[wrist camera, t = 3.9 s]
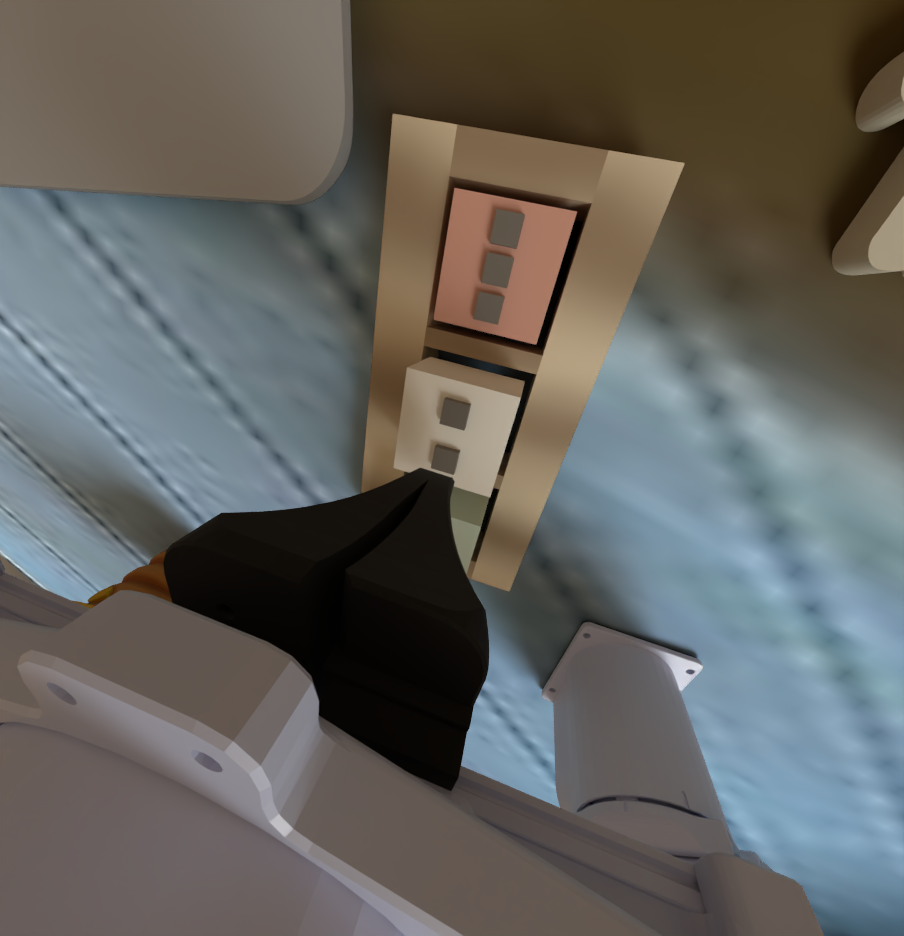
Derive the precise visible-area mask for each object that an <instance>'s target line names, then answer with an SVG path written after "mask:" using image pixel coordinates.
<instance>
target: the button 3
mask: <svg viewBox="0 0 904 936" xmlns="http://www.w3.org/2000/svg"><path fill="white" fill-rule="evenodd" d="M576 214H577V211H571V210H566V209H561V208H556V207H551V206H546V205H541V204H535V203H530V202H525V201H520V200H515V199H510V198H505V197H499V196H494V195H489V194H484V193H479V192H474V191H469V190H463V189H458V188H454V194H453V200H452V207H451V213H450V219H449V225H448V232H447V238H446V244H445V250H444V256H443V263H442V269H441V275H440V281H439V288H438V294H437V300H436V306H435V312H434V319H433V320H437V321H441V322H445V323H450V324H454V325H458V326H462V327H466V328H470V329H474V330H478V331H482V332H486V333H490V334H494V335H498V336H502V337H506V338H511V339H515V340H519V341H523V342H527V343H531V344H535V345H536V344H537V341H538V338H539V334H540V331H541V328H542V325H543V321H544V318H545V315H546V312H547V308H548V305H549V302H550V299H551V295H552V292H553V289H554V286H555V282H556V279H557V276H558V273H559V269H560V266H561V263H562V260H563V256H564V253H565V250H566V247H567V243H568V240H569V237H570V234H571V230H572V227H573V224H574V221H575V217H576Z"/></svg>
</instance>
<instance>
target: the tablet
mask: <svg viewBox="0 0 904 936" xmlns="http://www.w3.org/2000/svg"><path fill="white" fill-rule="evenodd" d="M352 138H353V84H352V50H351V17H350V0H0V187H13V188H29V189H45V190H61V191H77V192H93V193H110V194H126V195H142V196H158V197H174V198H190V199H206V200H222V201H238V202H254V203H270V204H286V205H300V204H305V203H308V202H311V201H313V200H315V199H317V198H319V197H320V196H322V195H323V194H324V193H325V192H326V191H327V190H329V188H330V187H331V186H332V185H333V184H334V183H335V181H336V180H337V179H338V178H339V177H340V175H341V173H342V172H343V170H344V168H345V166H346V163H347V161H348V158H349V154H350V150H351V145H352Z"/></svg>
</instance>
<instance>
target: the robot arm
mask: <svg viewBox="0 0 904 936" xmlns="http://www.w3.org/2000/svg"><path fill="white" fill-rule="evenodd" d="M454 483H455V481H454V479H453V478H452V477H449V476H445V475H442V474H439V473H436V472H433V471H430V470H426V469H423V468H418V469H416V470H414V471H412V472H410V473H408V474H406V475H404V476H402V477H400V478H398V479H395V480H393V481H391V482H389V483H387V484H384V485H382V486H379V487H377V488H374V489H372V490H369V491H366V492H364V493H361V494H358V495H355V496H352V497H348V498H345V499H341V500H337V501H333V502H328V503H323V504H318V505H313V506H308V507H302V508H294V509H286V510H276V511H264V512H239V513H221V514H219V515H217V516H216V517H214V518H213V519H211V520H209V521H208V522H206V523H205V524H203V525H202V526H200V527H198V528H197V529H195V530H194V531H192V532H191V533H189V534H187V535H186V536H184V537H183V538H181V539H179V540H178V541H176V542H175V543H173V544H172V545H171V546H170V547H169V548H168V549H167V550H166V553H165V557H164V561H163V566H164V574H165V578H166V582H167V585H168V589H169V592H170V596H171V600H172V603H171V602H169V601H166V600H164V599H161V598H159V597H156V596H154V595H151V594H146V593H141V592H136V591H132V590H120V591H118V592H116V593H115V594H113V595H112V596H110V597H108V598H107V599H105V600H104V601H102V602H101V603H99V604H98V605H96V606H95V607H93V608H92V609H90V608H87V607H85V606H83V605H80V604H78V603H76V602H73V601H71V600H68V599H66V598H64V597H61V596H59V595H57V594H54V593H52V592H50V591H47V590H45V589H42V588H40V587H38V586H35V585H33V584H31V583H28V582H26V581H24V580H21V579H19V578H17V577H14V576H12V575H9V574H7V573H5V568H4V566H3V564H2V562H1V560H0V936H824V934H823V932H822V930H821V928H820V926H819V923H818V921H817V919H816V917H815V914H814V912H813V910H812V908H811V905H810V903H809V901H808V899H807V896H806V894H805V892H804V890H803V888H802V886H801V885H800V884H799V883H797V882H796V881H795V880H793V879H791V878H788V877H786V876H784V875H781V874H779V873H776V872H774V871H773V870H772V869H771V868H770V867H769V866H768V865H766V864H765V863H764V862H762V861H761V859H760V858H759V856H758V855H757V854H756V853H755V852H752V851H744V850H740V851H739V849H738V847H737V845H736V844H735V842H734V840H733V838H732V836H731V833H730V831H729V828H728V825H727V822H726V819H725V816H724V814H723V811H722V808H721V805H720V802H719V800H718V797H717V794H716V791H715V788H714V786H713V783H712V780H711V777H710V774H709V771H708V769H707V766H706V763H705V760H704V757H703V755H702V752H701V749H700V746H699V743H698V741H697V738H696V735H695V732H694V729H693V726H692V724H691V721H690V718H689V715H688V712H687V710H686V707H685V704H684V701H683V698H682V696H681V693H680V692H681V691H682V690H683V689H684V688H685V687H686V686H687V685H688V684H689V683H690V682H691V680H692V679H693V678H694V677H695V676H696V675H697V674H698V673H699V672H700V671H701V670H702V669H703V666H702V663H701V661H700V660H699V659H697V658H694V657H691V656H688V655H685V654H682V653H679V652H676V651H673V650H670V649H667V648H664V647H662V646H659V645H656V644H653V643H650V642H647V641H644V640H641V639H638V638H635V637H632V636H629V635H626V634H623V633H620V632H618V631H615V630H612V629H609V628H606V627H603V626H600V625H597V624H594V623H591V622H585V623H583V624H582V625H581V627H580V628H579V630H578V632H577V633H576V635H575V637H574V638H573V640H572V642H571V643H570V645H569V647H568V648H567V650H566V652H565V653H564V655H563V657H562V658H561V660H560V662H559V663H558V665H557V667H556V668H555V670H554V672H553V673H552V675H551V677H550V678H549V680H548V682H547V683H546V685H545V687H544V688H543V690H542V697H543V698H544V699H545V700H548V701H550V702H553V705H554V743H555V781H556V792H557V797H558V802H559V805H560V808H559V807H557V806H554V805H552V804H550V803H547V802H545V801H543V800H540V799H538V798H536V797H533V796H531V795H528V794H526V793H524V792H521V791H519V790H517V789H514V788H512V787H510V786H507V785H505V784H503V783H500V782H498V781H495V780H493V779H491V778H488V777H486V776H484V775H481V774H479V773H477V772H474V771H472V770H470V769H467V768H465V767H462V766H461V761H462V756H463V750H464V745H465V739H466V734H467V731H468V729H469V727H470V723H471V717H472V712H473V706H474V703H475V701H476V699H477V697H478V695H479V693H480V690H481V688H482V686H483V684H484V682H485V680H486V676H487V672H488V666H489V638H488V627H487V619H486V611H485V609H484V607H483V606H482V604H481V602H480V601H479V599H478V597H477V595H476V594H475V592H474V590H473V588H472V586H471V584H470V582H469V580H468V577H467V575H466V573H465V570H464V568H463V565H462V562H461V560H460V557H459V554H458V551H457V547H456V544H455V539H454V535H453V529H452V522H451V512H450V498H451V494H452V490H453V487H454ZM585 633H588V634H585Z"/></svg>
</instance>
